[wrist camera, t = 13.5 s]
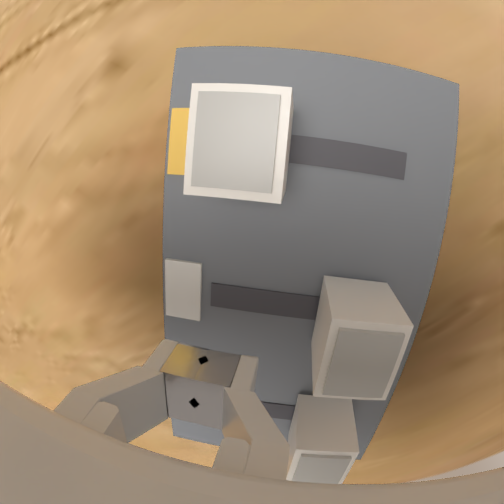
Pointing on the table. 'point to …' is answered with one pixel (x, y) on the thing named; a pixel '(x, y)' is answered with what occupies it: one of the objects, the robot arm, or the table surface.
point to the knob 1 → (238, 141)
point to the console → (307, 215)
